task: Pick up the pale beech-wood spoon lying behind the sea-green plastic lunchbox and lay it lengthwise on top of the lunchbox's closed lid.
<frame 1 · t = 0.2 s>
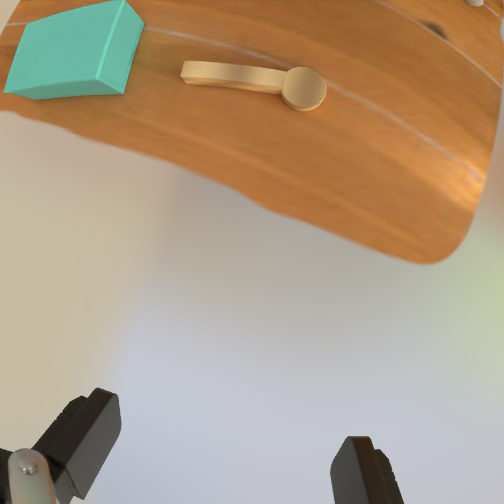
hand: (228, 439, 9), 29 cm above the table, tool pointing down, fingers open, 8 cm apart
spoon: (254, 82, 32), on the table
lunchbox lid: (56, 46, 25), point 7 cm above the table, hinge at 0.0°
lunchbox: (84, 61, 32), on the table
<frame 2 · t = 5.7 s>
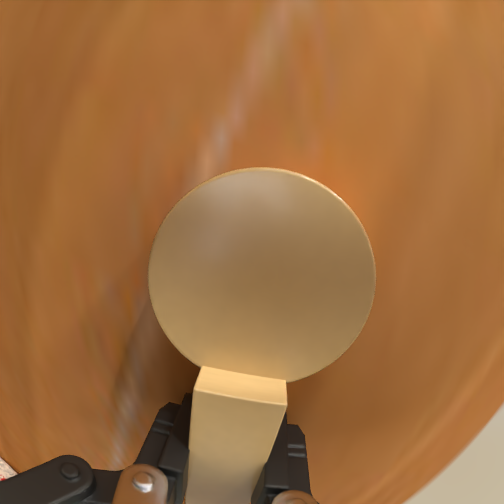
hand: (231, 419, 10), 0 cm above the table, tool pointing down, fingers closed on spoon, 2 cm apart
spoon: (232, 415, 10), on the table, touching gripper
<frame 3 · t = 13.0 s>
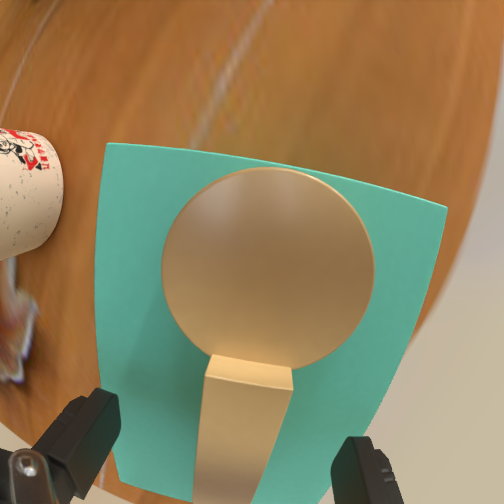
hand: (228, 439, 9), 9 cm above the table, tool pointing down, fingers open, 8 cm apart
spoon: (239, 405, 10), point 8 cm above the table
lunchbox lid: (235, 404, 11), point 7 cm above the table, hinge at -0.2°, touching lunchbox
teacup with lid: (16, 186, 17), on the table
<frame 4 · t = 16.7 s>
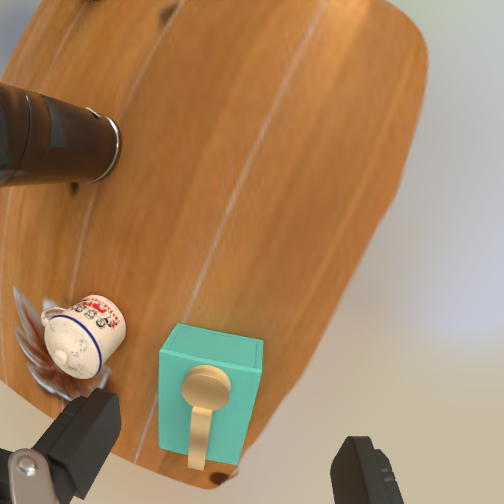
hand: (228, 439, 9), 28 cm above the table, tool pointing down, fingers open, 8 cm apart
spoon: (203, 416, 33), point 8 cm above the table, touching lunchbox lid
lunchbox lid: (202, 416, 34), point 7 cm above the table, hinge at -0.2°, touching lunchbox, spoon
teacup with lid: (94, 316, 40), on the table
lunchbox: (212, 382, 41), on the table
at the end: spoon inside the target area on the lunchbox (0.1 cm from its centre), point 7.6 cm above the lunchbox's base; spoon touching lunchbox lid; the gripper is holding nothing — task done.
